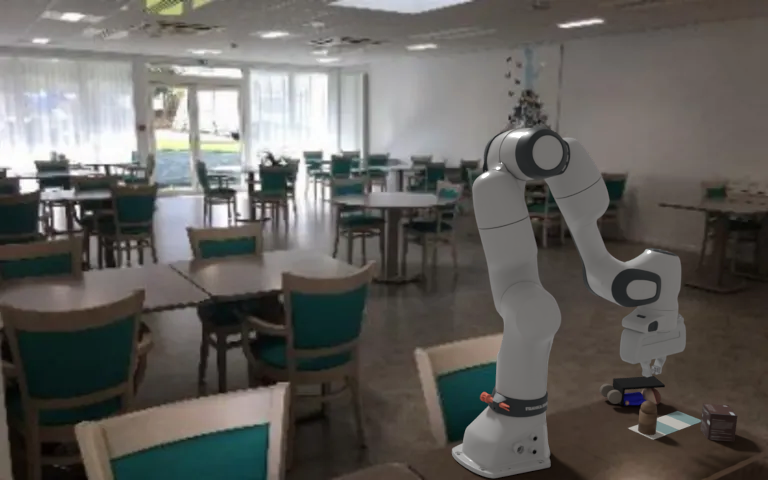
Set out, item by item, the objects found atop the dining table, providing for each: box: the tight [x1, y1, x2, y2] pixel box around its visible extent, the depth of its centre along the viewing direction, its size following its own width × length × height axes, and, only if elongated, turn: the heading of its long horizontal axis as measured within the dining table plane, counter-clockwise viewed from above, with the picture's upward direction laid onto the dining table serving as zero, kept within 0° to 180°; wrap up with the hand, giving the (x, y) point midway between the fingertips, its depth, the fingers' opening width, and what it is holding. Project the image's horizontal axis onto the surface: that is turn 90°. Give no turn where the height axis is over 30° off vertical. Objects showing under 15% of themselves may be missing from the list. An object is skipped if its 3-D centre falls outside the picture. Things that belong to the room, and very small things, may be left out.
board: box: [627, 410, 701, 440], centre depth 163 cm, size 20×7×1 cm, turn 123°
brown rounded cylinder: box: [637, 401, 659, 435], centre depth 158 cm, size 4×4×8 cm
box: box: [699, 403, 738, 442], centre depth 157 cm, size 6×6×7 cm
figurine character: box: [599, 375, 666, 407], centre depth 175 cm, size 7×8×15 cm
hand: (651, 374), depth 156 cm, fingers open, 2 cm apart
